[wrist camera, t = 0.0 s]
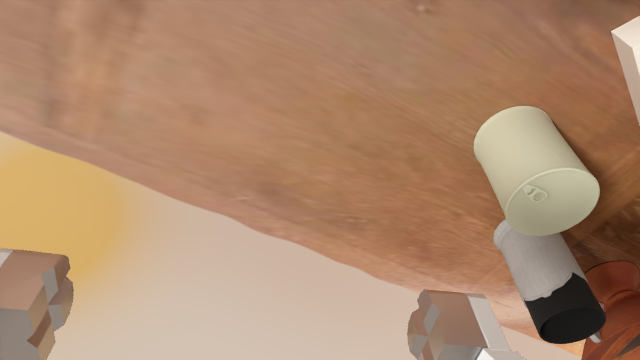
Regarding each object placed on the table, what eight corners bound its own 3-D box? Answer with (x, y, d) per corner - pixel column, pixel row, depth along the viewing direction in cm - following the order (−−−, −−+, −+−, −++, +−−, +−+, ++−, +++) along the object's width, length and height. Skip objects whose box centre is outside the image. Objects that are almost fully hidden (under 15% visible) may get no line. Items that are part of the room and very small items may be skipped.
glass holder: (537, 199, 62) (590, 292, 51) (586, 249, 69) (644, 342, 57) (481, 233, 66) (518, 327, 55) (533, 277, 73) (576, 370, 61)
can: (516, 90, 52) (563, 155, 43) (569, 129, 55) (623, 197, 46) (457, 148, 57) (487, 217, 47) (509, 180, 60) (546, 251, 51)
